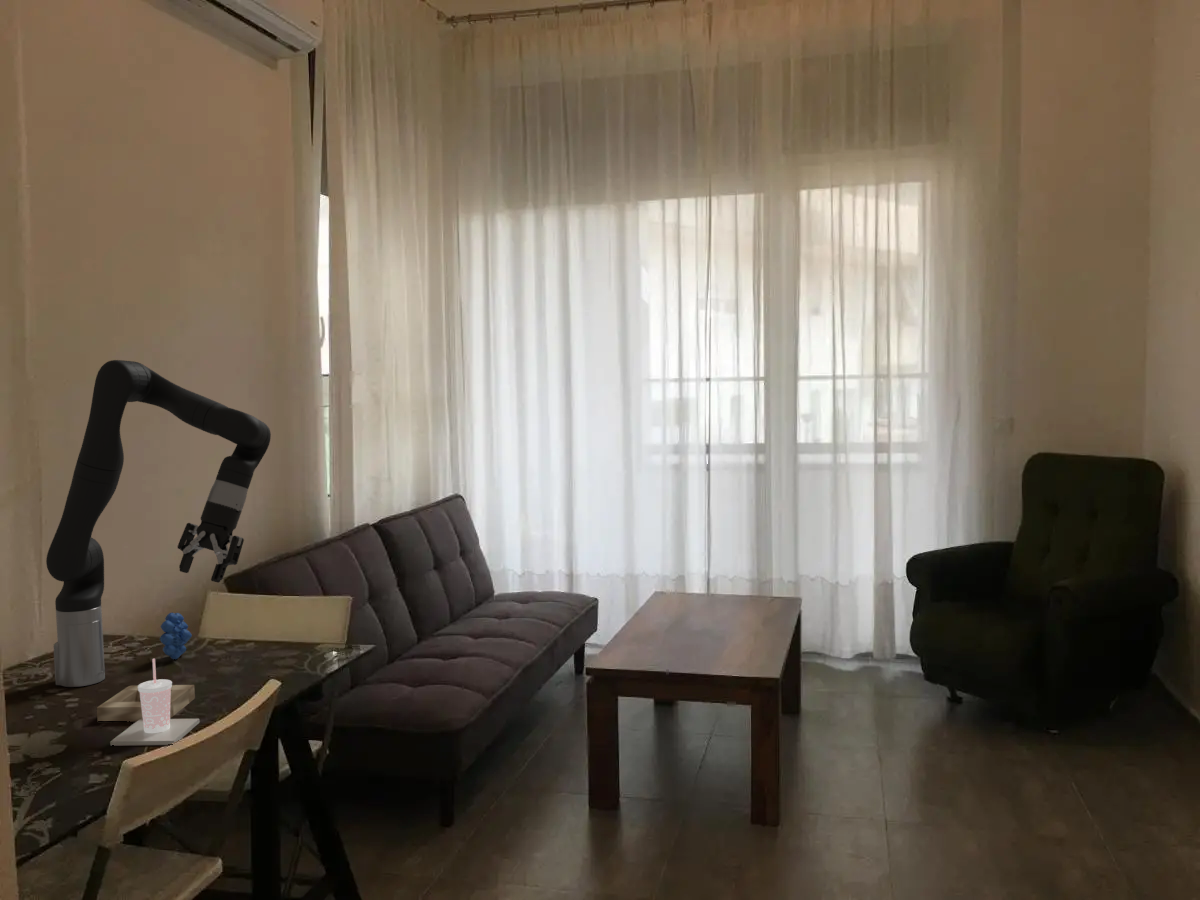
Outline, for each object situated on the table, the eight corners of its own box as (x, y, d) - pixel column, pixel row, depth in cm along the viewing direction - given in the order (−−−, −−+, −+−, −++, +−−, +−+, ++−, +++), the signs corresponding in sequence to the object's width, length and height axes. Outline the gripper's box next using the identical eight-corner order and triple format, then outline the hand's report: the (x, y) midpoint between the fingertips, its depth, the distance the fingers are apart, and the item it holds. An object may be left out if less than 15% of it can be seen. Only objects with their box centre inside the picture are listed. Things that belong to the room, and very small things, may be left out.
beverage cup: (132, 732, 191) (129, 661, 190) (156, 721, 197) (153, 653, 196) (157, 736, 189) (154, 664, 188) (181, 725, 195) (177, 655, 194)
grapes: (182, 666, 238) (180, 617, 237) (154, 666, 238) (152, 617, 237) (202, 652, 249) (200, 605, 249) (176, 652, 250) (174, 605, 249)
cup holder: (97, 721, 200) (96, 707, 200) (130, 699, 214) (129, 685, 214) (166, 721, 200) (166, 706, 200) (194, 698, 214) (194, 684, 214)
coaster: (110, 745, 187) (110, 741, 187) (139, 723, 199) (139, 719, 199) (174, 744, 187) (173, 740, 187) (199, 722, 199) (199, 718, 199)
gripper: (187, 493, 213) (161, 566, 210) (240, 507, 208) (214, 582, 205) (209, 501, 220) (184, 571, 217) (261, 515, 215) (236, 587, 212)
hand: (199, 577), depth 211 cm, fingers open, 8 cm apart
